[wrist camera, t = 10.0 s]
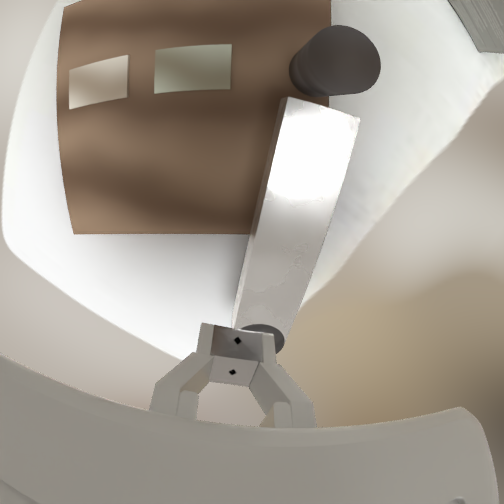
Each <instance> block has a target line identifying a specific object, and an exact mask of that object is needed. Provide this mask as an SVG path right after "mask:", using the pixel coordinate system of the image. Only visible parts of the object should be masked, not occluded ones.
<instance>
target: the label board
mask: <svg viewBox="0 0 504 504" xmlns="http://www.w3.org/2000/svg"><path fill="white" fill-rule="evenodd" d="M380 69H381V62H380V57H379V54H378V51H377V49H376V47H375V46H374V44H373V43H372V42H371V41H370V39H369V38H368V37H366V36H365V35H364V34H363V33H361V32H360V31H358V30H356V29H354V28H351V27H348V26H342V25H335V26H331V0H82V1H79V2H76V3H74V4H71V5H69V6H67V7H64V11H63V17H62V24H61V31H60V40H59V50H58V64H57V125H58V140H59V151H60V160H61V168H62V175H63V182H64V188H65V194H66V200H67V205H68V210H69V215H70V220H71V224H72V229H73V233H74V234H250V231H251V227H252V223H253V218H254V214H255V209H256V205H257V200H258V196H259V192H260V187H261V183H262V178H263V174H264V170H265V165H266V161H267V156H268V152H269V148H270V143H271V139H272V135H273V130H274V126H275V122H276V117H277V113H278V109H279V105H280V100H281V99H282V98H285V97H292V98H296V99H300V100H304V101H307V102H311V103H314V104H318V105H321V106H325V107H329V96H335V95H345V94H356V93H361V92H364V91H366V90H368V89H369V88H371V87H372V86H373V85H374V84H375V82H376V81H377V79H378V77H379V74H380Z"/></svg>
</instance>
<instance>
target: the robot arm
mask: <svg viewBox="0 0 504 504" xmlns="http://www.w3.org/2000/svg"><path fill="white" fill-rule="evenodd" d="M209 382H216V383H224V384H233V385H239V386H246V387H249V389H250V391H251V392H252V394H253V396H254V397H255V399H256V400H257V402H258V404H259V405H260V407H261V408H262V410H263V412H264V413H265V415H266V417H265V418H264V420H263V421H262V423H261V424H260V426H259V427H255V426H242V425H231V424H222V423H215V422H207V421H201V420H196V418H197V408H198V399H199V395H198V394H199V393H200V392H201V390H202V389H203V388H204V387H205V386H206V385H207V384H208V383H209ZM0 504H499V497H498V487H497V480H496V475H495V470H494V465H493V460H492V457H491V453H490V450H489V446H488V443H487V439H486V436H485V433H484V430H483V428H482V426H481V424H480V422H479V421H478V420H477V419H476V418H475V417H474V416H473V415H472V414H471V413H470V412H468V411H467V410H466V409H464V408H463V407H456V408H452V409H449V410H445V411H441V412H437V413H432V414H428V415H423V416H418V417H413V418H408V419H402V420H396V421H390V422H383V423H375V424H366V425H356V426H344V427H326V428H317V424H316V418H315V412H314V406H313V402H312V401H311V400H310V399H309V398H308V396H307V395H306V394H305V393H304V392H303V391H302V390H301V388H300V387H299V386H298V385H297V384H296V383H295V381H294V380H293V379H292V378H291V377H290V376H289V374H288V373H287V372H286V371H285V370H284V369H283V367H282V366H281V365H279V364H277V362H276V352H275V342H274V335H273V334H271V333H263V332H255V331H248V330H241V329H233V328H228V327H223V326H218V325H211V324H207V323H202V324H201V327H200V333H199V339H198V345H197V351H196V353H195V352H192V353H191V354H190V355H189V356H188V357H186V358H185V359H184V360H183V361H182V362H180V363H179V364H178V365H177V366H176V367H175V368H173V369H172V370H171V371H170V372H169V373H167V374H166V375H165V376H164V377H163V378H161V379H160V380H159V381H158V382H157V383H156V384H155V388H154V392H153V396H152V400H151V404H150V408H149V410H146V409H141V408H138V407H133V406H130V405H126V404H123V403H119V402H116V401H113V400H109V399H106V398H103V397H100V396H97V395H94V394H91V393H88V392H85V391H83V390H80V389H78V388H75V387H72V386H70V385H67V384H65V383H62V382H60V381H57V380H55V379H53V378H50V377H48V376H46V375H44V374H41V373H39V372H37V371H35V370H33V369H31V368H29V367H27V366H25V365H23V364H21V363H19V362H17V361H15V360H13V359H11V358H9V357H8V356H6V355H4V354H2V353H1V352H0Z"/></svg>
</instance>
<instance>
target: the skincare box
mask: <svg viewBox="0 0 504 504" xmlns="http://www.w3.org/2000/svg"><path fill="white" fill-rule="evenodd" d="M449 2H450V3H451V5H452V6H453V8H454V9H455V11H456V12H457V14H458V15H459V17H460V19H461V20H462V22H463V24H464V25H465V27H466V29H467V31H468V33H469V34H470V36H471V38H472V40H473V42H474V44H475V45H476V47H477V49H478V51H479V52H492V53H504V0H449Z"/></svg>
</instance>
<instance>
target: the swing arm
mask: <svg viewBox="0 0 504 504" xmlns="http://www.w3.org/2000/svg"><path fill="white" fill-rule="evenodd" d="M360 120H361V118H358V117H355V116H352V115H349V114H346V113H343V112H340V111H337V110H334V109H331V108H328V107H325V106H321V105H318V104H314V103H311V102H307V101H304V100H300V99H296V98H292V97H285V98H282V99H281V100H280V105H279V109H278V113H277V117H276V122H275V126H274V130H273V135H272V139H271V143H270V148H269V152H268V156H267V161H266V165H265V170H264V174H263V178H262V183H261V187H260V192H259V196H258V200H257V205H256V209H255V214H254V218H253V223H252V227H251V231H250V236H249V240H248V245H247V249H246V254H245V258H244V263H243V267H242V272H241V276H240V281H239V285H238V290H237V294H236V299H235V303H234V308H233V312H232V328H233V329H241V330H248V331H255V332H263V333H271V334H273V335H274V342H275V352H276V354H277V353H278V352H279V351H280V350H281V349H282V348H283V346H284V343H285V341H286V339H287V336H288V334H289V332H290V329H291V326H292V324H293V322H294V319H295V317H296V314H297V312H298V309H299V307H300V304H301V302H302V299H303V297H304V294H305V291H306V289H307V286H308V283H309V281H310V278H311V275H312V273H313V270H314V267H315V265H316V262H317V259H318V256H319V253H320V251H321V248H322V245H323V242H324V239H325V236H326V233H327V230H328V227H329V224H330V221H331V218H332V215H333V212H334V209H335V206H336V203H337V200H338V197H339V193H340V190H341V187H342V184H343V180H344V177H345V174H346V170H347V167H348V164H349V160H350V157H351V153H352V150H353V146H354V142H355V139H356V135H357V131H358V128H359V124H360Z"/></svg>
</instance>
